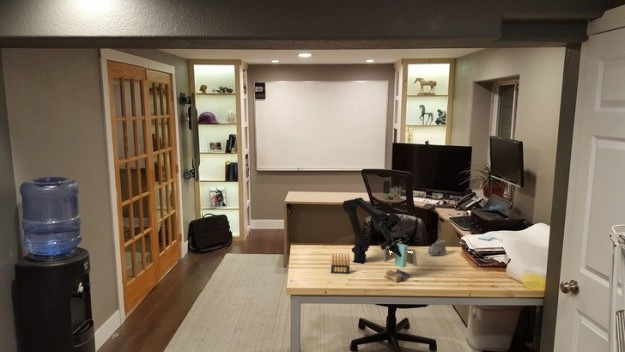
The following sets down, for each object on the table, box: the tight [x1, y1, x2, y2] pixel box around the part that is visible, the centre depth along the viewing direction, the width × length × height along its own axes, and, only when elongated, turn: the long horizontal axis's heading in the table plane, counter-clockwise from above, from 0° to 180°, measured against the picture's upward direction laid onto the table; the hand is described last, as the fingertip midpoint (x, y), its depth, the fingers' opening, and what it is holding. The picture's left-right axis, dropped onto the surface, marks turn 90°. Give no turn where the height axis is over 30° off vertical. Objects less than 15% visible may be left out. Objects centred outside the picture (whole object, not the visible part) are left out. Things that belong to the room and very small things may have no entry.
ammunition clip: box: [330, 252, 351, 275], centre depth 246 cm, size 11×2×12 cm, turn 85°
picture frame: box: [383, 246, 417, 266], centre depth 274 cm, size 19×2×30 cm
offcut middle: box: [384, 272, 401, 280], centre depth 237 cm, size 8×4×1 cm, turn 40°
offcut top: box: [385, 269, 402, 278], centre depth 236 cm, size 8×4×1 cm, turn 40°
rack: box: [383, 268, 411, 284], centre depth 239 cm, size 10×11×3 cm
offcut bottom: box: [384, 275, 401, 283], centre depth 237 cm, size 8×4×1 cm, turn 40°
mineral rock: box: [427, 239, 447, 256], centre depth 278 cm, size 13×11×10 cm
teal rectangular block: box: [393, 243, 409, 268], centre depth 239 cm, size 6×3×12 cm, turn 39°
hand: (403, 255), depth 238 cm, fingers closed on teal rectangular block, 3 cm apart
